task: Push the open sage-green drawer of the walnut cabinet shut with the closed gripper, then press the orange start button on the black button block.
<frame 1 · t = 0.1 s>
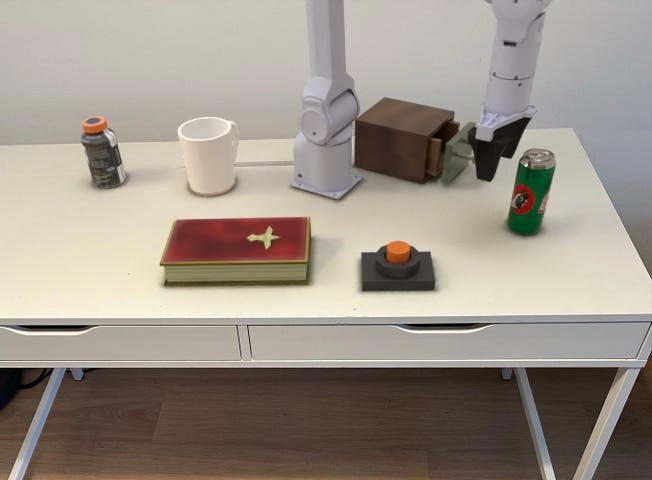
hand: (495, 167, 95), 10 cm above the table, tool pointing down, fingers open, 7 cm apart
cabinet: (401, 162, 119), on the table
pill bottle: (110, 181, 120), on the table
hardcover book: (240, 261, 99), on the table
button block: (396, 275, 95), on the table
mug: (217, 183, 117), on the table
drawer: (439, 147, 113), point 4 cm above the table, slide at 3.0 cm
soda can: (522, 228, 101), on the table
button: (398, 252, 92), point 4 cm above the table, slide at 0.1 cm
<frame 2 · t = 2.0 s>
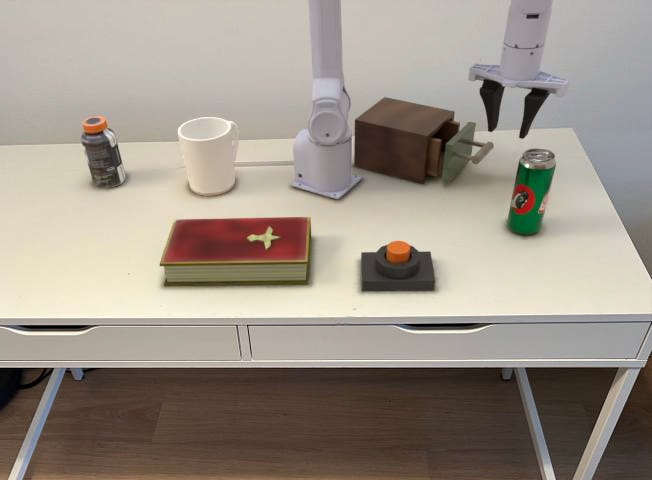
hand: (507, 132, 104), 9 cm above the table, tool pointing down, fingers open, 4 cm apart
nothing on the table moved.
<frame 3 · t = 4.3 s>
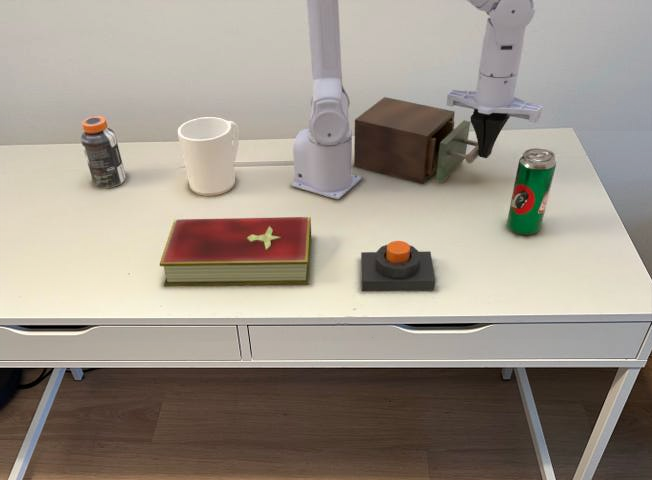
hand: (484, 155, 109), 5 cm above the table, tool pointing down, fingers closed
drawer: (433, 146, 113), point 4 cm above the table, slide at 2.0 cm, touching gripper
everything else where it was.
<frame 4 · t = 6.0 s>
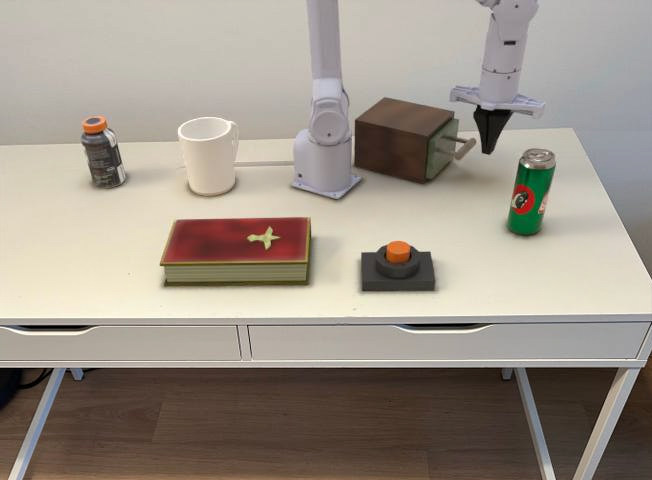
hand: (487, 151, 108), 6 cm above the table, tool pointing down, fingers closed
drawer: (423, 144, 114), point 4 cm above the table, slide at 0.0 cm, touching cabinet
everything else where it was.
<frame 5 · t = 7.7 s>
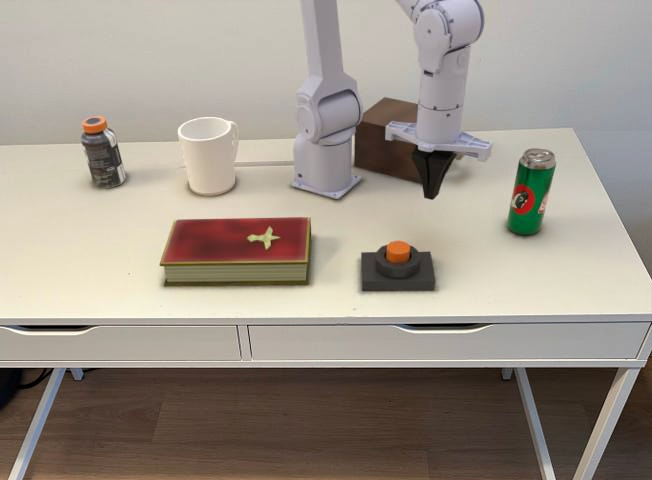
hand: (431, 195, 94), 8 cm above the table, tool pointing down, fingers closed
nothing on the table moved.
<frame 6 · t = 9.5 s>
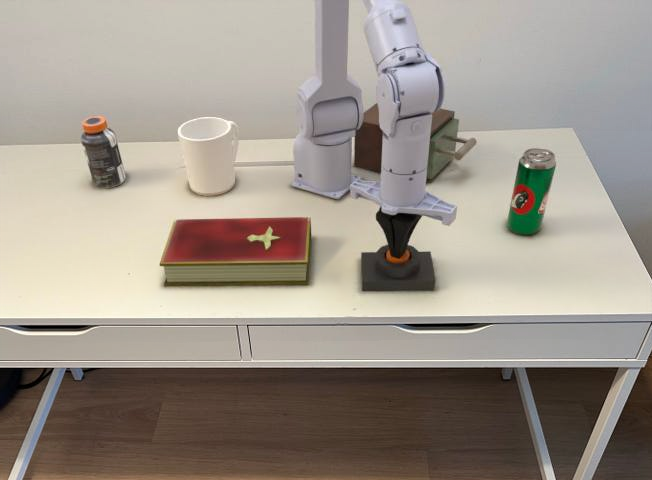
hand: (398, 254, 92), 4 cm above the table, tool pointing down, fingers closed, pressing on button
button: (397, 258, 93), point 3 cm above the table, slide at -1.0 cm, touching gripper
everything else where it was.
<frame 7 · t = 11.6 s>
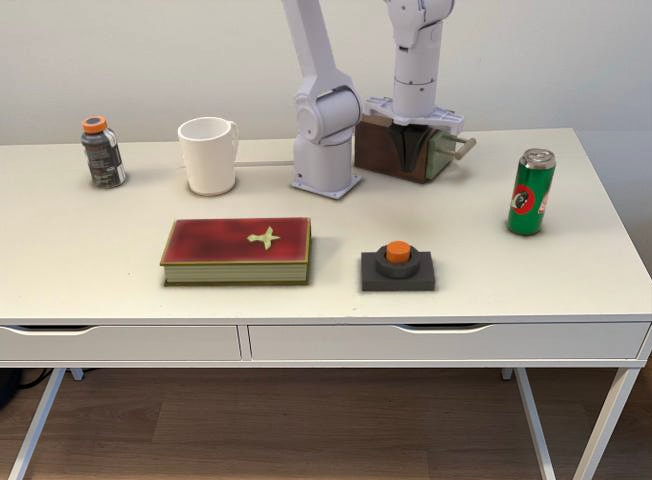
hand: (408, 169, 98), 9 cm above the table, tool pointing down, fingers closed
button: (398, 252, 92), point 4 cm above the table, slide at 0.1 cm
everything else where it was.
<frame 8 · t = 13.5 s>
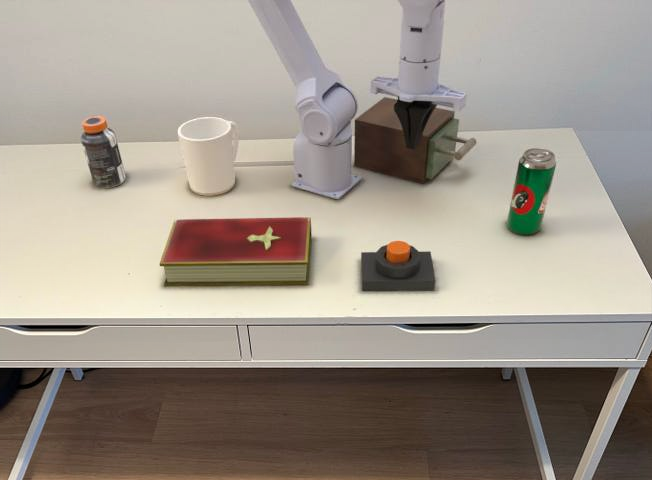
hand: (412, 146, 103), 9 cm above the table, tool pointing down, fingers closed
nothing on the table moved.
at the end: drawer slide at 0.0 cm; button pushed in 1.2 cm at the most during the clip, back to where it started at the end; button slide at 0.1 cm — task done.
